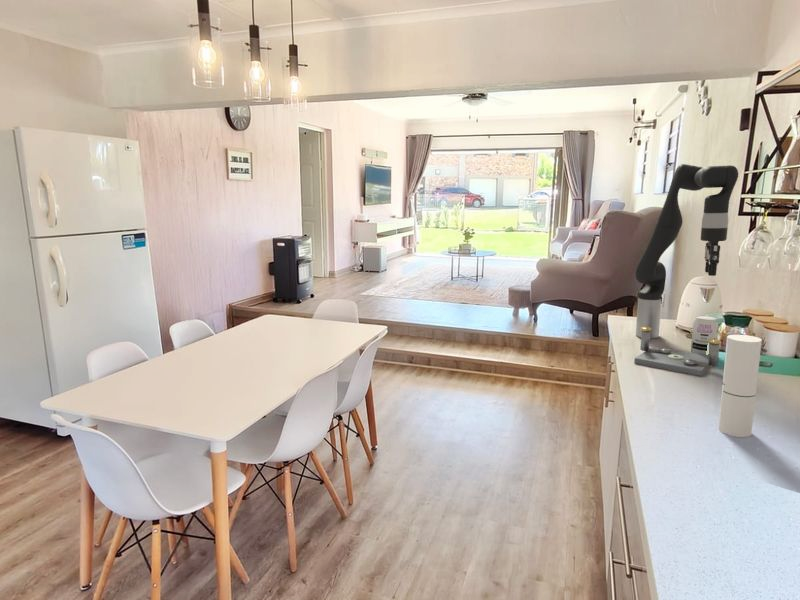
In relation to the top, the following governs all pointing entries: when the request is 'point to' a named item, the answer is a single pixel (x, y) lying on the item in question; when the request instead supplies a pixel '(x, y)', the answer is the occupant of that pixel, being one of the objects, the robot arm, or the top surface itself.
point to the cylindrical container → (739, 385)
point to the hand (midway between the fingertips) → (710, 274)
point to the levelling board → (673, 361)
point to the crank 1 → (645, 342)
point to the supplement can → (703, 333)
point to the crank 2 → (712, 355)
